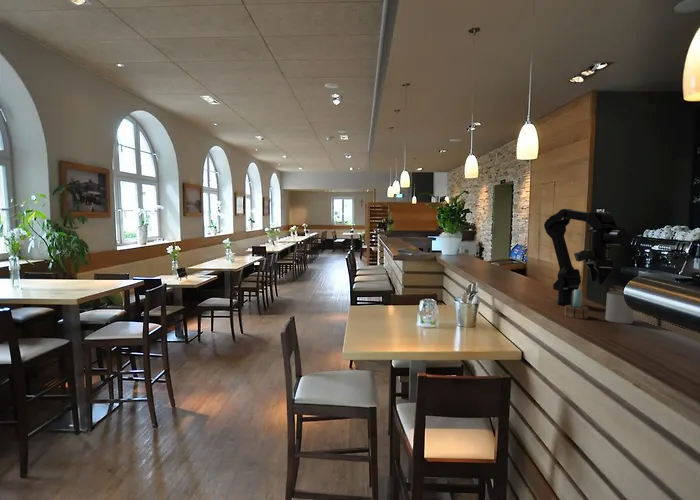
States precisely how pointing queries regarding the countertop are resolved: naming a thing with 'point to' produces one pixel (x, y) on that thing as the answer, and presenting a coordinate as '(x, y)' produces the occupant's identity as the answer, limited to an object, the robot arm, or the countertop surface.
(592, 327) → the countertop surface
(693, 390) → the countertop surface
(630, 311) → the cup
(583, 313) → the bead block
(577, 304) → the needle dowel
